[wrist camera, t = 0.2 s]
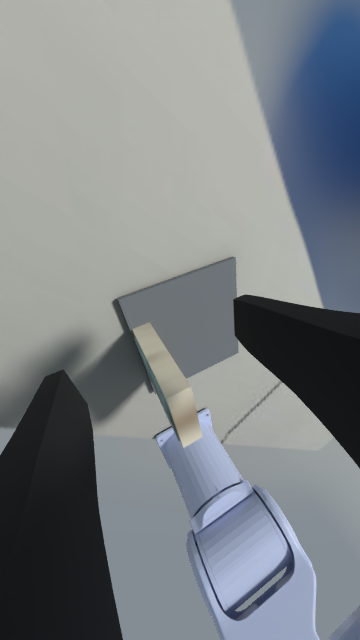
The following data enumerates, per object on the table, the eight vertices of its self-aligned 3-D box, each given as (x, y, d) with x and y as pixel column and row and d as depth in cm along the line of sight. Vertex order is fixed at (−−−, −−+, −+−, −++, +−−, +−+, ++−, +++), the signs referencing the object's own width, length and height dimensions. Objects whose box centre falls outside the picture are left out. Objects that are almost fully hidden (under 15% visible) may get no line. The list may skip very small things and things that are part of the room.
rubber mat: (236, 350, 27) (238, 352, 27) (153, 391, 24) (155, 393, 24) (232, 256, 20) (235, 257, 20) (117, 298, 17) (118, 300, 17)
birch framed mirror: (164, 368, 23) (202, 436, 16) (148, 375, 22) (181, 449, 16) (149, 322, 19) (190, 386, 13) (130, 329, 19) (163, 400, 12)
